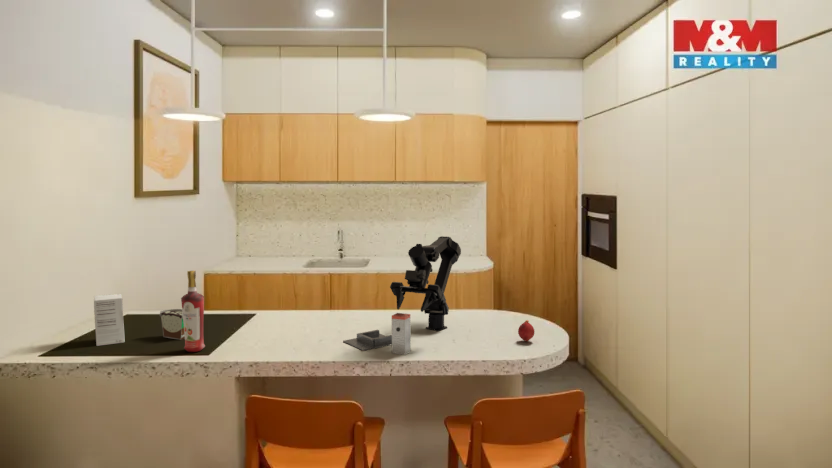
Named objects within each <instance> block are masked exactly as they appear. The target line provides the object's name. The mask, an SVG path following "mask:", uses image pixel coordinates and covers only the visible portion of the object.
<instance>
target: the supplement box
mask: <svg viewBox="0 0 832 468" xmlns="http://www.w3.org/2000/svg"><path fill="white" fill-rule="evenodd" d="M93 313H94V314H93V315H94V328H95V329H94V330H95V342H96V343H95V344H96V346H97V347H98V346H106V345H113V344H122V343H125V342H126V341H125V325H124V323H125V322H124V303H123V295H122V293H115V294H104V295H103V294H102V295H100V294H99V295H94V296H93Z"/></svg>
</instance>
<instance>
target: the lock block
mask: <svg viewBox="0 0 832 468" xmlns="http://www.w3.org/2000/svg"><path fill="white" fill-rule="evenodd" d="M391 335H392V345H391V354H398V355H405V356H406V355H407V354H408V353H410V352H411V350H412V349H411V345H412V343H411V339H412V338H411V337H412V336H411V314H410V313H404V312H403V313H400V312H396V313H395V314H392V315H391Z"/></svg>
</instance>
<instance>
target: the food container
mask: <svg viewBox="0 0 832 468" xmlns="http://www.w3.org/2000/svg"><path fill="white" fill-rule="evenodd" d="M159 317H160V318H161V319H160V320H161V329H162V337H163V338H168V339H174V340H181V341H182V340H185V334H184V323H183V314H182V308H181V309H180V308H173V309H172V308H171V309H164V310H163V309H162V310H160V312H159Z"/></svg>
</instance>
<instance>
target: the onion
mask: <svg viewBox="0 0 832 468" xmlns="http://www.w3.org/2000/svg"><path fill="white" fill-rule="evenodd" d="M517 334H518V336H519V338H520V339H521V340H523V341H524V342H529V341H530V340H531V339H533V337H534V335H535V328H534V326H533V325H532V324H531V323H530V322H529V320H528V319H527V320H524V322H522V323H521V324H520V326H519V327H518V329H517Z"/></svg>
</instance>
